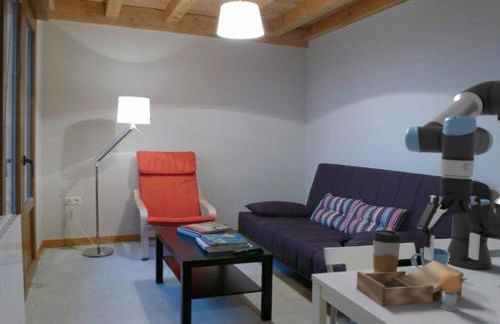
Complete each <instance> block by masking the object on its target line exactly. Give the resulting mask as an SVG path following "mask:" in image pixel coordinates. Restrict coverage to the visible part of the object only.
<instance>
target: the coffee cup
mask: <svg viewBox="0 0 500 324" xmlns="http://www.w3.org/2000/svg"><path fill="white" fill-rule="evenodd" d="M401 239H402V237H401V236H400V233H399V232H398V231H394V230H386V229H378V230H374V234H373V235H372V243H373V244H372V247H373V249H372V250H373V251H372V259H373V260H372V263H373V264H372V265H373V266H372V268H373V273H378V272H398V266H399V257H400V256H399V255H400V246H401V242H402V240H401Z"/></svg>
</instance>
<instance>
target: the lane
mask: <svg viewBox="0 0 500 324" xmlns="http://www.w3.org/2000/svg"><path fill="white" fill-rule="evenodd" d="M356 272H357V273H356V289H357V290H358V291H359V292H361V293H363V295H365V296H367V297H368V298H369V299H370V300H372V301H374V302H375V303H377V304H378V305H379V306H383V307H384V306H398V305H409V304H410V305H411V304H413V305H414V304H427V303H433V302H434V299H436V300H437V301H439V302H442V292H443V291H444V290H443V289H442V288H441V286H440V279H441V277H442V276H443V275H445V274H454V275H456V276H457V277H458V278H459V280H460V282H461V287H460V289H459V291H458V292H456V293H457V301H458V300H462V290H463V289H462V287H463V277H465V276H464V272H462V271H461V270H458V269H456V268H453V267H451V266H448V265H446V264H443V263H441V262H439V261H436V260H433V261H429V262H428V263H426V264H424V265H423V266H422V267H421V266H420V267H419V268H417V269H416V270H414V271H412V272H410V273H408V274H407V273H406V271H403V270H402V271H400V270H399V271H397V272H378V273H374V272H362V271H356Z"/></svg>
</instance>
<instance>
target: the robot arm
mask: <svg viewBox="0 0 500 324" xmlns="http://www.w3.org/2000/svg"><path fill="white" fill-rule="evenodd" d="M479 116H482V117H483V116H496V117H497V120H496V121H497V123H499V124H500V80H487V81H483V82H479V83H477V84H474V85H472V86H470V87H468V88H466V89H464V90H463V91H461V92H459V94H457V95H456V96H454V98H453V100H452V103H451V104H449V105H448V106H447V107H445V108H444V109H443V110H442V111H441V112H439V113H437V115H435V116H434V117H433V118H432V119H430V120H429V121H428V122H426V123H425V124H424V125H423V126H419V125H417V126H410V127H409V128H408V129H407V130H406V131H405V134H404V135H405V136H404V143H405V147H406V149H407V150H408V151H409V152H413V153H414V152H416V153H431V154H435V153H436V154H437V153H438V154H441V160H440V162H441V163H440V172H439V173H440V175H441V177H440V178H439V191H440V195H439V196H438V195H433V194H430V195H429V196H428V203H427V205H426V206H425V209H424V211H423V213H422V214H421V217H420V219H419V221H418V223H417V225H416V227H415V230H416V231H417V232H420V233H422V241H421V242H422V243H421V244H422V247H424V248H423V259H424V260H427V261H428V262H432V261H434V255H435V253H434V252H435V238H436V237H435V235H434V234H433V233H434V232H435V230H436V229H437V228H438V227H439V226H440V224H441V223H442V222H443V220H444V219H445V218H446V217H447V216H449V215H450V214H451V215H452V218H451V232H450V233H451V235H450V242H449V244H448V248H447V249H446V252H447V251H448V252H449V253H450V258H449V263H448V264H450V265H451V266H456V267H460V268H465V269H471V270H472V269H473V270H474V269H475V270H488V269H491V268H492V266H493V265H492V263H493V262H492V258H491V255H490V250H489V247H488V239H492V240H498V241H500V196H499V197H498V198H496V199H495V200H494V203H493V204H491V201H490V200H489V199H482V198H481V197H480V196H478V195H471V193H473V185H474V184H473V182H474V181H473V179H472V178H473V176H474V165H475V156H480V155H484V154H486V153H487V152H489V151H490V150H491V149H492V147H493V143H494V137H493V135H492V134H491V132H490V131H489V130H487V129H485V128H484V127H481V126H477V119H476V118H478V117H479ZM470 195H471V196H470Z"/></svg>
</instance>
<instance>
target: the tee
mask: <svg viewBox="0 0 500 324" xmlns="http://www.w3.org/2000/svg"><path fill="white" fill-rule="evenodd" d="M457 301H458V300H457V293H452V294H451V293H447V292H445V291H443V292H442V301H441V304H440V308H441V309H442V310H445V311H449V312H456V311H458V306H457Z"/></svg>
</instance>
